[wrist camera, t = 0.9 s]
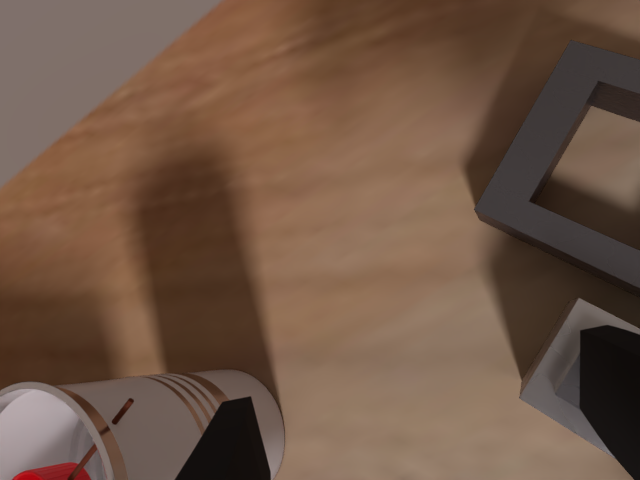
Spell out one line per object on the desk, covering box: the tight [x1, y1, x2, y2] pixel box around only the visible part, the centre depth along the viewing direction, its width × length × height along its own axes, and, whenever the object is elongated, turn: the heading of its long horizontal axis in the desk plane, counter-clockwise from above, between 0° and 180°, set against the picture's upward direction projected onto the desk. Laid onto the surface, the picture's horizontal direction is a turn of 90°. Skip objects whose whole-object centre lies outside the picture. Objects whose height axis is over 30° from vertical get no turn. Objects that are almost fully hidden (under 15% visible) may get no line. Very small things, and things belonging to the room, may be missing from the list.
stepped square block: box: [519, 298, 640, 459], centre depth 17 cm, size 4×4×6 cm
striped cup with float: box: [0, 369, 285, 480], centre depth 21 cm, size 10×8×12 cm
